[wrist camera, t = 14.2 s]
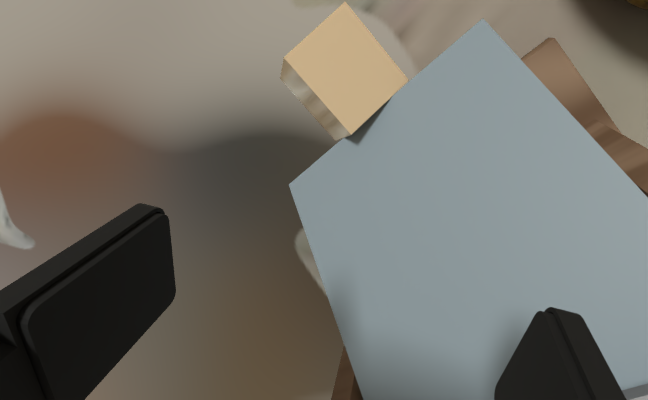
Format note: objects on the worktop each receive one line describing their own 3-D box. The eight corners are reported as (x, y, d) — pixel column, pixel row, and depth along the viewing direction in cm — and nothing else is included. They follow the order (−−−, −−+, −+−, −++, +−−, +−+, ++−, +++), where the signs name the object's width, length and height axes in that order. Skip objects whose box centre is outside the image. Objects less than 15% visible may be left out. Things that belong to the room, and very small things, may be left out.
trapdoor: (909, 502, 11) (1036, 600, 7) (449, 550, 18) (410, 609, 15) (496, 43, 21) (472, -1, 18) (312, 191, 29) (271, 179, 25)
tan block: (408, 80, 22) (345, 1, 21) (351, 134, 22) (283, 57, 21) (382, 96, 27) (330, 33, 26) (335, 141, 27) (280, 78, 26)
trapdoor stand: (658, 193, 26) (982, 428, 11) (412, 313, 36) (406, 520, 21) (548, 37, 23) (775, 67, 8) (317, 213, 33) (234, 367, 18)
